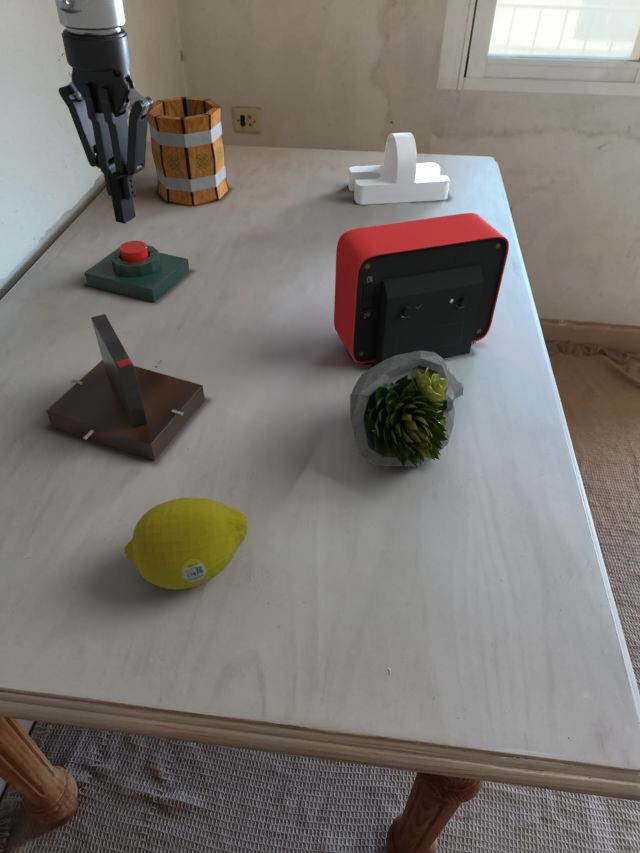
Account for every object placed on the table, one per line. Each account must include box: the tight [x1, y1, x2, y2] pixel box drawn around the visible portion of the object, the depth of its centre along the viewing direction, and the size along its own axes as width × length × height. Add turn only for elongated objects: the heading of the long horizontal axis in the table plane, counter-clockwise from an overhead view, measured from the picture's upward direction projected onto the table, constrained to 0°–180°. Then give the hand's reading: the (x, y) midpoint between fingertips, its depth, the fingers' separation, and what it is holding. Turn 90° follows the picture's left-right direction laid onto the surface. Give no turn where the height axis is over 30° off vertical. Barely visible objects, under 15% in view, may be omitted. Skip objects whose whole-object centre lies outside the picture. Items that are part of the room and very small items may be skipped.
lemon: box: [124, 497, 248, 591], centre depth 56 cm, size 11×8×8 cm
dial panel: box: [45, 359, 206, 461], centre depth 74 cm, size 15×15×3 cm
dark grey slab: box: [90, 313, 147, 427], centre depth 70 cm, size 11×2×8 cm, turn 29°
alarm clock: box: [333, 212, 510, 365], centre depth 80 cm, size 10×20×16 cm, turn 108°
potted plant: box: [349, 350, 464, 470], centre depth 66 cm, size 12×13×15 cm
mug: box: [148, 95, 230, 206], centre depth 119 cm, size 20×14×15 cm
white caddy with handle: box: [347, 132, 451, 206], centre depth 119 cm, size 10×18×11 cm, turn 99°
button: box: [118, 240, 149, 263], centre depth 94 cm, size 4×4×2 cm
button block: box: [83, 244, 190, 303], centre depth 96 cm, size 12×10×4 cm
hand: (125, 218), depth 90 cm, fingers closed
